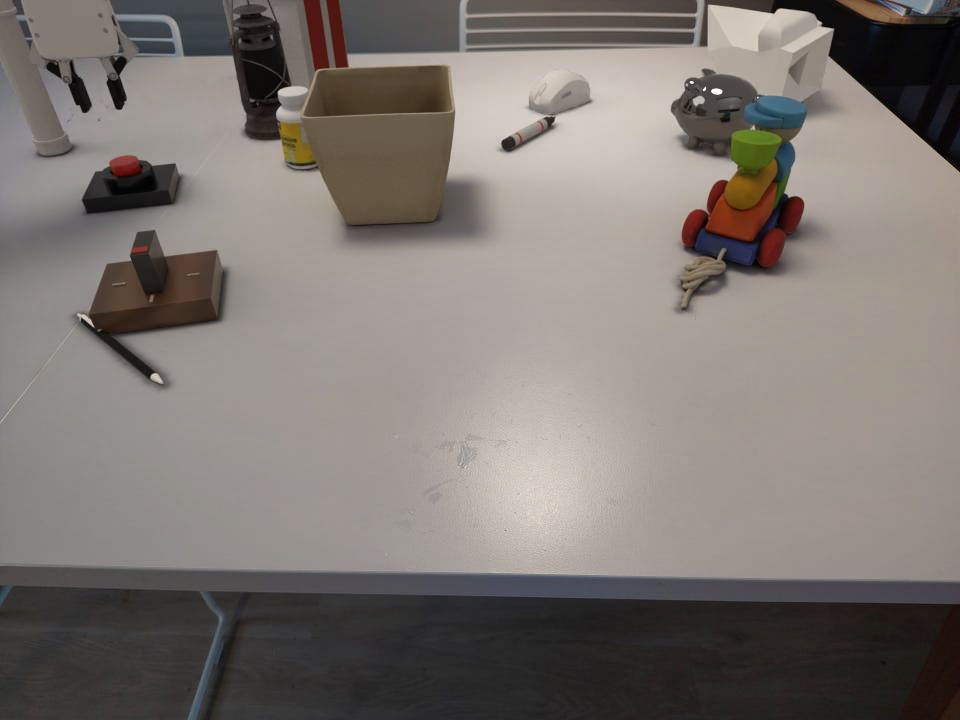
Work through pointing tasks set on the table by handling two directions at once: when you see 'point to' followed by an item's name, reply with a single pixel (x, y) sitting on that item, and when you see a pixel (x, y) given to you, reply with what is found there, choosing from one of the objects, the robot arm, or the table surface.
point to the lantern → (258, 68)
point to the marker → (527, 133)
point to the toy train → (749, 196)
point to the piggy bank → (714, 108)
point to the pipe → (29, 85)
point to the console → (159, 295)
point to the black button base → (131, 188)
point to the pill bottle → (294, 128)
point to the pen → (122, 350)
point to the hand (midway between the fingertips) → (103, 106)
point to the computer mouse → (559, 92)
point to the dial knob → (149, 261)
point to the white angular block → (770, 49)
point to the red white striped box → (304, 35)
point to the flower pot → (382, 139)
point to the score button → (125, 165)
